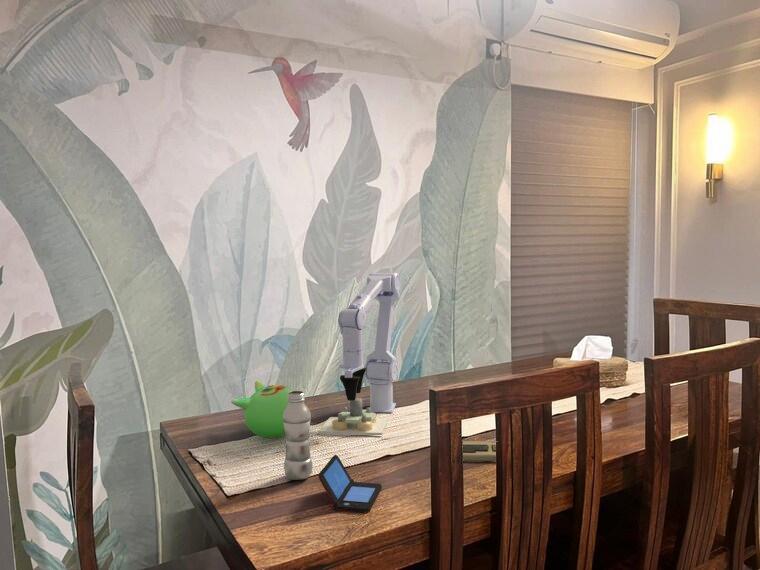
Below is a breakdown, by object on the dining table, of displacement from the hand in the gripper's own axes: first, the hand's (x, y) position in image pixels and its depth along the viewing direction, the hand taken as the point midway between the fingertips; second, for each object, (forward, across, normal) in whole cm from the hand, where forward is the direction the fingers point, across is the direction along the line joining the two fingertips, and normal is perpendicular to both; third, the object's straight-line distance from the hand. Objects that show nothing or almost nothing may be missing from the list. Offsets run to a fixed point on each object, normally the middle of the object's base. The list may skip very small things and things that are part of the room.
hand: (354, 396), depth 167 cm
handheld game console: (+10, +45, +8) cm, 47 cm away
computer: (+10, +19, +33) cm, 39 cm away
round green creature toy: (+10, +8, -22) cm, 25 cm away
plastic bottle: (+9, +36, -6) cm, 38 cm away
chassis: (+9, 0, 0) cm, 9 cm away
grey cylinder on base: (+6, 0, 0) cm, 6 cm away
